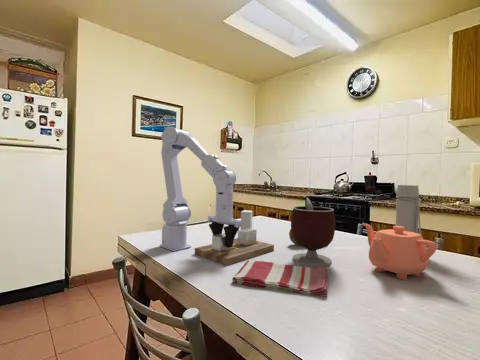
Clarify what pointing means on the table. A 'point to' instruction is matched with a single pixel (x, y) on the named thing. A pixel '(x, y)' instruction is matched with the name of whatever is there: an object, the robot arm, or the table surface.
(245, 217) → the skincare box
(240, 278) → the dish towel
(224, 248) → the block
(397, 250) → the teapot
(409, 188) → the water bottle
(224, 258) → the board
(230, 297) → the table surface
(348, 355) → the table surface
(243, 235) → the block
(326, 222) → the mate gourd
